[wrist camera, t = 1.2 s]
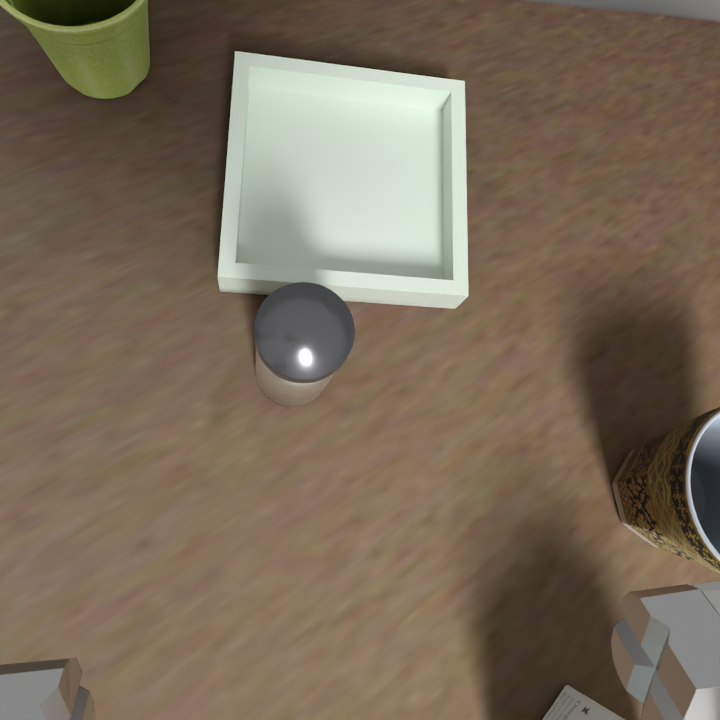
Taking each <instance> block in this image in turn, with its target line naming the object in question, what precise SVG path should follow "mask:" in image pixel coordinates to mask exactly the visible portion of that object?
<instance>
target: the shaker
mask: <svg viewBox="0 0 720 720" xmlns="http://www.w3.org/2000/svg"><path fill="white" fill-rule="evenodd" d="M354 334H355V330H354V322H353V318H352V315H351V313H350V310H349V308H348V307H347V305H346V304H345V302H344V301H343V300H342V299H341V298H340V297H339V296H338V295H337V294H336V293H334V292H333V291H332V290H330V289H328V288H326V287H324V286H322V285H319V284H315V283H309V282H297V283H291V284H287V285H285V286H282V287H280V288H278V289H277V290H275V291H274V292H272V293H271V294H270V295H269V296H268V297H267V298H266V299H265V300H264V301H263V303H262V304H261V306H260V308H259V310H258V312H257V315H256V318H255V324H254V341H255V346H256V366H255V373H256V379H257V383H258V385H259V387H260V389H261V390H262V392H263V393H264V394H265V395H266V396H267V397H268V398H269V399H270V400H272V401H273V402H275V403H277V404H279V405H282V406H286V407H299V406H303V405H306V404H309V403H311V402H312V401H314V400H315V399H317V398H318V397H319V396H320V395H321V394H322V392H323V391H324V389H325V388H326V386H327V385H328V383H329V381H330V380H331V378H332V377H333V375H334V373H335V372H336V371H337V370H338V369H339V368H340V367H341V365H342V364H343V363H344V361H345V360H346V358H347V356H348V355H349V353H350V351H351V348H352V346H353V341H354Z"/></svg>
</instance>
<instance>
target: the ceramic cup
mask: <svg viewBox="0 0 720 720" xmlns="http://www.w3.org/2000/svg"><path fill="white" fill-rule="evenodd" d="M612 487H613V491H614V495H615V499H616V503H617V508H618V512H619V516H620V520H621V522H622V524H623V525H625V526H626V527H627V528H629V529H630V530H631V531H633V532H634V533H636V534H637V535H638V536H640V537H641V538H642V539H644V540H645V541H647V542H648V543H650V544H651V545H653V546H655V547H658V548H660V549H662V550H665V551H668V552H671V553H674V554H676V555H678V556H681V557H683V558H686V559H688V560H691V561H693V562H696V563H699V564H702V565H704V566H706V567H707V568H709V569H711V570H713V571H715V572H718V573H720V407H719V408H717V409H714V410H711V411H709V412H707V413H704V414H702V415H700V416H698V417H696V418H694V419H692V420H690V421H688V422H686V423H684V424H682V425H681V426H679V427H677V428H676V429H674V430H673V431H671V432H669V433H666V434H664V435H662V436H660V437H658V438H656V439H654V440H652V441H650V442H648V443H645V444H643V445H641V446H638V447H636V448H635V449H633V450H631V451H630V452H629V453H628V455H627V457H626V459H625V460H624V462H623V464H622V466H621V467H620V469H619V471H618V473H617V475H616V476H615V478H614V480H613V483H612Z"/></svg>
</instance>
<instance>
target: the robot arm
mask: <svg viewBox="0 0 720 720" xmlns="http://www.w3.org/2000/svg"><path fill="white" fill-rule="evenodd" d="M620 609H621V611H622V613H623V615H624V617H625V618H624V619H623V620H622V621H620V622H619V623H618V624H617V625H616V626H615V627H614V630H613V634H612V639H611V648H612V657H613V662H614V665H615V668H616V671H617V674H618V676H619V678H620V680H621V682H622V684H623V686H624V688H625V690H626V691H627V692H628V693H630V694H631V695H632V696H633V697H635V698H636V699H637V700H639V701H640V702H641V703H643V707H642V714H641V720H720V581H716V582H708V583H701V584H694V585H687V584H685V585H677V586H670V587H662V588H655V589H647V590H640V591H633V592H629V593H627V594H626V595H625V596H624V597H623V599H622V602H621V606H620ZM81 676H82V669H81V667H80V665H79V663H78V660H77V658H76V657H75V658H65V659H55V660H44V661H34V662H24V663H14V664H4V665H0V720H95V710H94V702H93V699H92V696H91V693H90V691H89V690H87V689H85V688H84V687H82V686H80V685H79V683H80V679H81Z"/></svg>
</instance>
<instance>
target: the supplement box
mask: <svg viewBox="0 0 720 720" xmlns="http://www.w3.org/2000/svg"><path fill="white" fill-rule="evenodd" d="M542 720H625V719H624V718H622V717H620V716H618V715H617V714H615V713H613V712H612V711H610V710H608V709H607V708H605V707H603V706H602V705H600V704H599V703H597V702H595V701H593V700H592V699H590V698H588V697H587V696H585V695H583V694H582V693H580V692H578V691H577V690H575V689H574V688H572V687H570V686H569V685H566V686H565V687H564V688H563V690H562V691H561V693H560V695H559V696H558V698H557V699H556V701H555V702H554V704H553V705H552V706H551V708H550V709H549V711H548V712H547V713H546V715H545V716H544V718H543V719H542Z"/></svg>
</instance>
